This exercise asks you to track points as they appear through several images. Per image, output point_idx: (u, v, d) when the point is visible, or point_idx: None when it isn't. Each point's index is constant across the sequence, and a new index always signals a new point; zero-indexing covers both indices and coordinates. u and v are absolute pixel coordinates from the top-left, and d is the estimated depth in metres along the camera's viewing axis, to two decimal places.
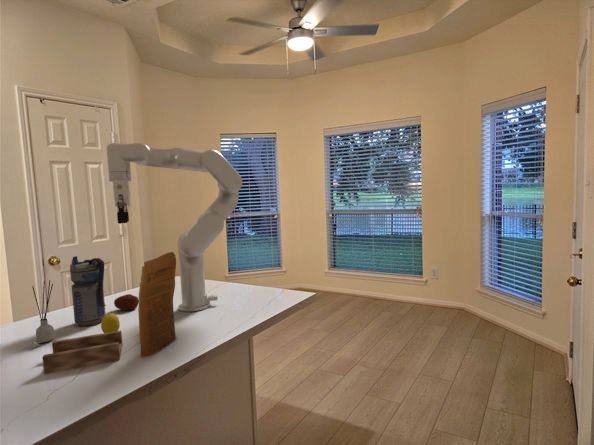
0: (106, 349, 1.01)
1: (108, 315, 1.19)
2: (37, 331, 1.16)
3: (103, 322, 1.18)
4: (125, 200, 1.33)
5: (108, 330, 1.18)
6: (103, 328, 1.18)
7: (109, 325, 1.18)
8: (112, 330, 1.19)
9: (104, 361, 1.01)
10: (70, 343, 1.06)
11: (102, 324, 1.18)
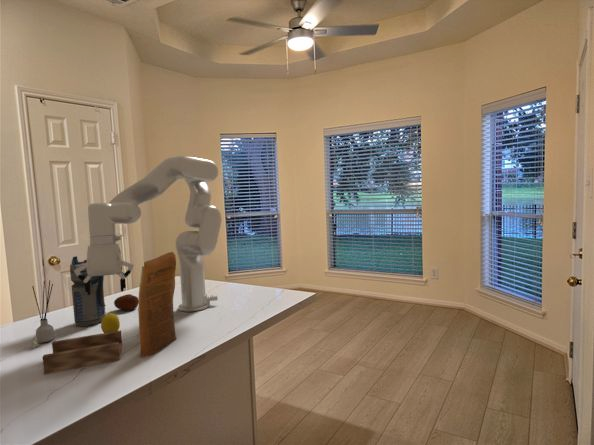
0: (106, 349, 1.01)
1: (108, 315, 1.19)
2: (37, 331, 1.16)
3: (103, 322, 1.18)
4: None
5: (108, 330, 1.18)
6: (103, 328, 1.18)
7: (109, 325, 1.18)
8: (112, 330, 1.19)
9: (104, 361, 1.01)
10: (70, 343, 1.06)
11: (102, 324, 1.18)
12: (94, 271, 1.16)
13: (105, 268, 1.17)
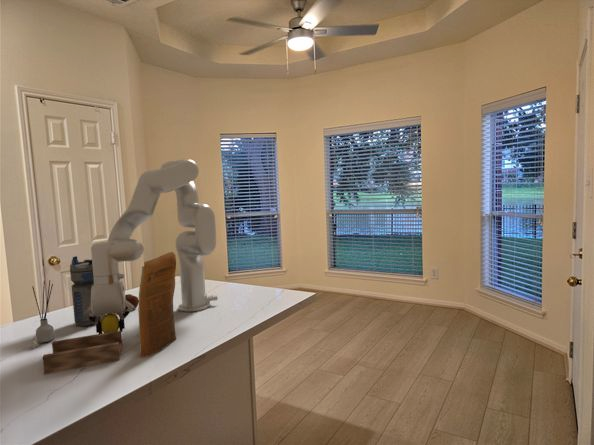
0: (106, 349, 1.01)
1: (108, 315, 1.19)
2: (37, 331, 1.16)
3: (103, 322, 1.18)
4: None
5: (108, 330, 1.18)
6: (103, 328, 1.18)
7: (109, 325, 1.18)
8: (112, 330, 1.19)
9: (104, 361, 1.01)
10: (70, 343, 1.06)
11: (102, 324, 1.18)
12: (98, 310, 1.17)
13: (110, 307, 1.18)
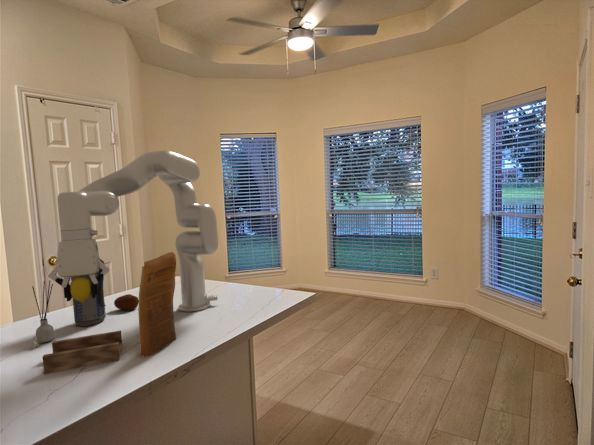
0: (106, 349, 1.01)
1: (78, 277, 1.02)
2: (37, 331, 1.16)
3: (72, 285, 1.01)
4: (99, 267, 1.06)
5: (78, 294, 1.01)
6: (72, 292, 1.01)
7: (79, 288, 1.01)
8: (83, 295, 1.01)
9: (104, 361, 1.01)
10: (70, 343, 1.06)
11: (71, 287, 1.01)
12: (66, 271, 1.00)
13: (80, 268, 1.01)
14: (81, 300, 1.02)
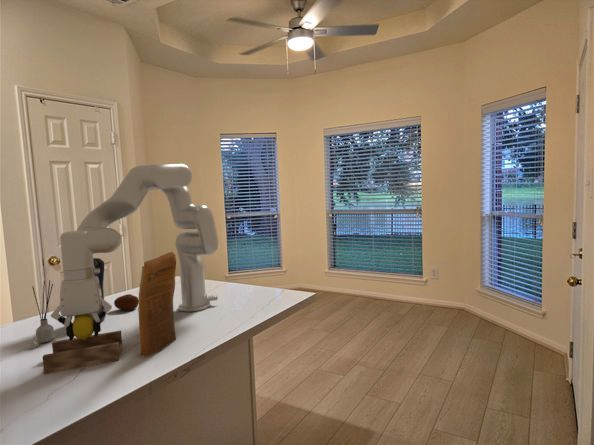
0: (106, 349, 1.01)
1: (80, 316, 1.02)
2: (37, 331, 1.16)
3: (74, 324, 1.01)
4: (101, 304, 1.06)
5: (80, 333, 1.01)
6: (74, 331, 1.01)
7: (81, 327, 1.01)
8: (85, 333, 1.02)
9: (104, 361, 1.01)
10: (70, 343, 1.06)
11: (73, 326, 1.01)
12: (69, 310, 1.00)
13: (82, 307, 1.01)
14: (83, 338, 1.03)
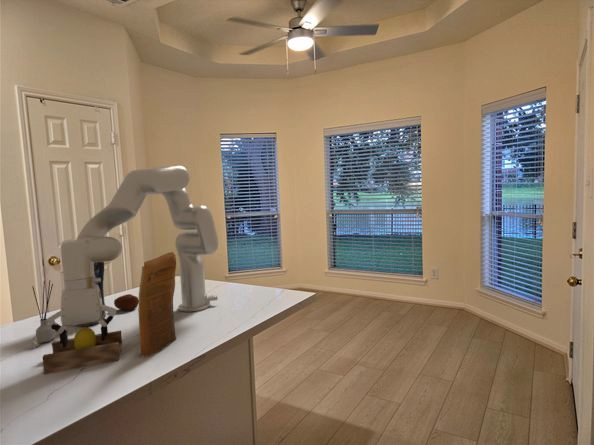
0: (106, 349, 1.01)
1: (82, 330, 1.03)
2: (37, 331, 1.16)
3: (76, 338, 1.02)
4: None
5: (82, 347, 1.02)
6: (76, 345, 1.02)
7: (83, 341, 1.02)
8: None
9: (104, 361, 1.01)
10: (70, 343, 1.06)
11: (75, 341, 1.02)
12: (70, 320, 1.00)
13: (83, 316, 1.02)
14: None
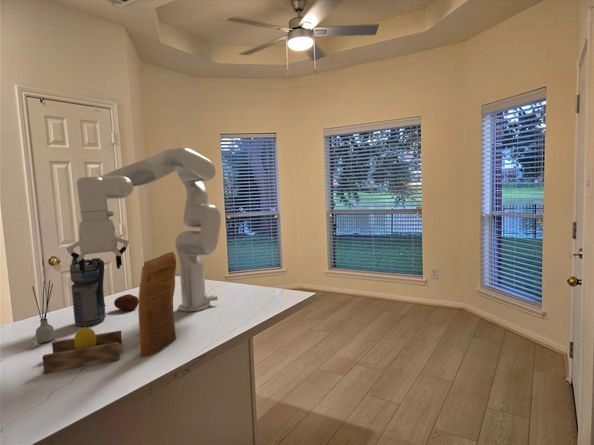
0: (106, 349, 1.01)
1: (82, 330, 1.03)
2: (37, 331, 1.16)
3: (76, 338, 1.02)
4: (116, 241, 1.17)
5: None
6: (76, 345, 1.02)
7: (83, 342, 1.01)
8: None
9: (104, 361, 1.01)
10: (70, 343, 1.06)
11: (75, 341, 1.02)
12: (88, 248, 1.11)
13: (99, 245, 1.12)
14: None
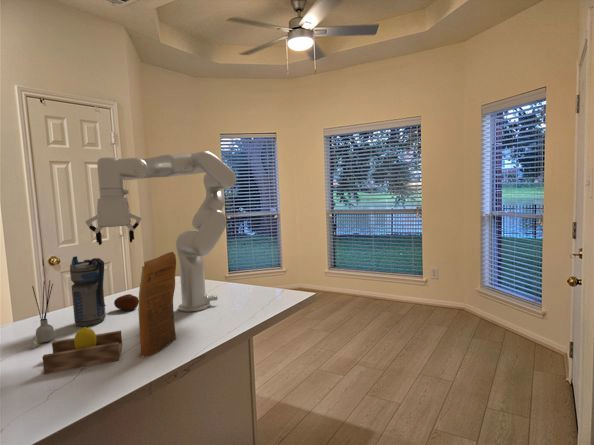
0: (106, 349, 1.01)
1: (82, 330, 1.03)
2: (37, 331, 1.16)
3: (76, 338, 1.02)
4: None
5: None
6: (76, 345, 1.02)
7: (84, 342, 1.02)
8: None
9: (104, 361, 1.01)
10: (70, 343, 1.06)
11: (75, 341, 1.02)
12: (104, 222, 1.23)
13: (115, 220, 1.24)
14: None
